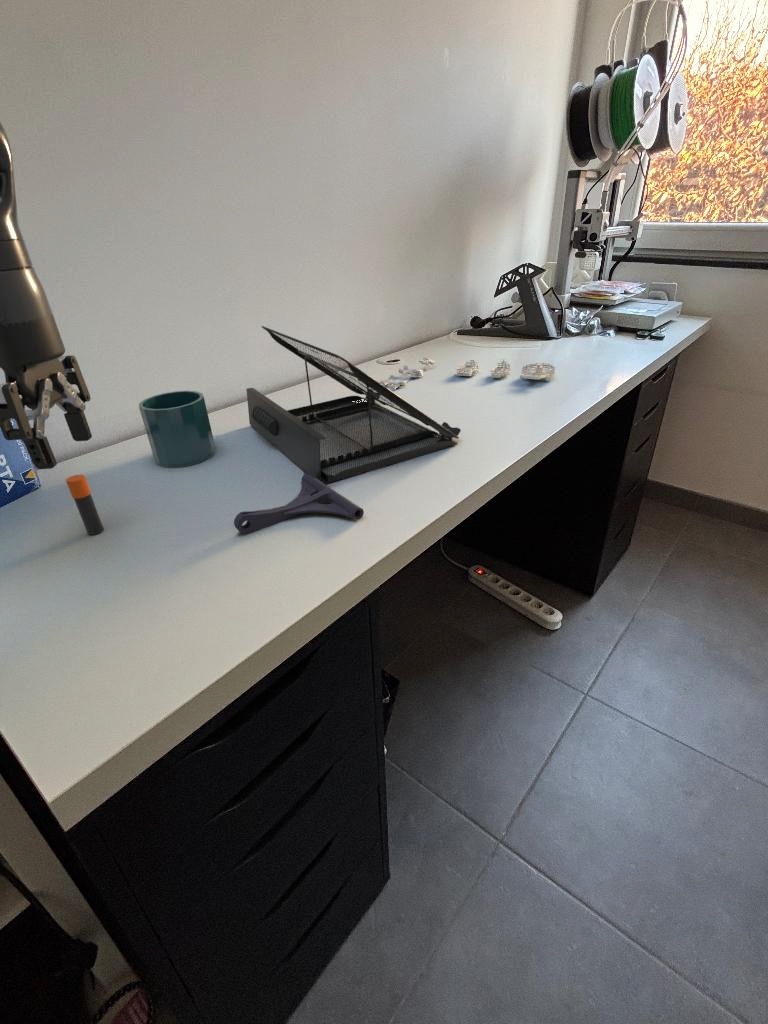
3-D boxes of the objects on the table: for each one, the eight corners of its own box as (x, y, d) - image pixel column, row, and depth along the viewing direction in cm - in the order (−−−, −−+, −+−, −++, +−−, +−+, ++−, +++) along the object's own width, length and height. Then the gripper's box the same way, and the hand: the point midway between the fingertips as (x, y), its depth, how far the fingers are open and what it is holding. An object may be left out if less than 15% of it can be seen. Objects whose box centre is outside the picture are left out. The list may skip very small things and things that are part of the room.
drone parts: (528, 408, 105) (529, 393, 104) (377, 393, 121) (375, 379, 120) (558, 373, 122) (559, 359, 120) (421, 364, 138) (421, 351, 136)
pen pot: (146, 469, 88) (128, 411, 84) (167, 445, 97) (153, 392, 92) (206, 466, 88) (192, 408, 83) (222, 442, 97) (210, 389, 92)
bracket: (218, 514, 74) (213, 496, 72) (311, 481, 81) (309, 465, 79) (261, 560, 63) (257, 540, 62) (364, 518, 70) (362, 499, 69)
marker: (83, 536, 70) (62, 482, 66) (91, 527, 72) (71, 474, 68) (99, 535, 70) (79, 481, 66) (107, 526, 72) (87, 473, 68)
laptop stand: (463, 442, 91) (466, 332, 82) (315, 487, 79) (298, 364, 70) (369, 397, 116) (362, 309, 107) (246, 426, 104) (227, 330, 95)
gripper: (18, 307, 64) (66, 434, 72) (-70, 330, 51) (0, 480, 59) (79, 303, 64) (121, 430, 72) (5, 325, 51) (65, 476, 59)
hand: (66, 453), depth 66 cm, fingers open, 8 cm apart
